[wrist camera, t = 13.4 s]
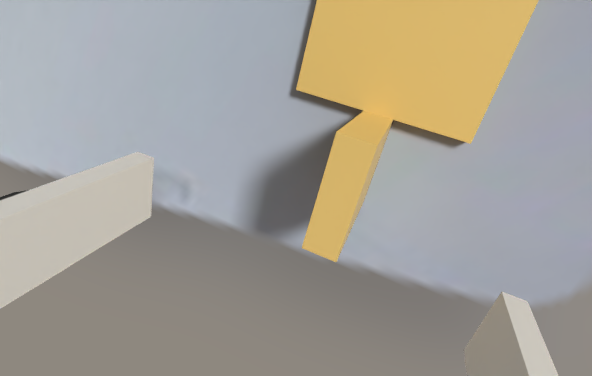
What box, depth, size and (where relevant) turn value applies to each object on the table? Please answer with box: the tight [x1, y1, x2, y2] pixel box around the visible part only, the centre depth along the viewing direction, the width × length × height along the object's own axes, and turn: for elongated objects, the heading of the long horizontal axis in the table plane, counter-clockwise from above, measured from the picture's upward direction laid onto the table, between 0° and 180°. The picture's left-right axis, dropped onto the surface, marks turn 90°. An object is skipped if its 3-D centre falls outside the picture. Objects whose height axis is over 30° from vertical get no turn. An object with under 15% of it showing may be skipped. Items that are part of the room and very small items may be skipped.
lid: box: [296, 0, 538, 262], centre depth 16 cm, size 11×23×8 cm, turn 165°
